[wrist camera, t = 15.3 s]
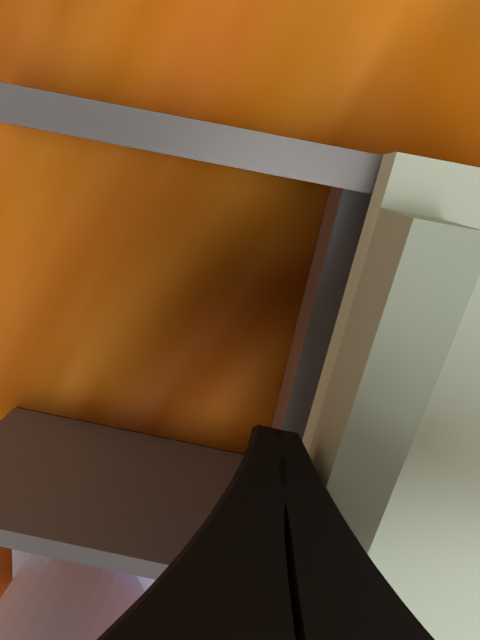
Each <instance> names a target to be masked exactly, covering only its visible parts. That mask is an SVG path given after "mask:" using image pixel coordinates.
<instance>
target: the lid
mask: <svg viewBox="0 0 480 640" xmlns="http://www.w3.org/2000/svg"><path fill="white" fill-rule="evenodd" d="M302 441H303V444H304V446H305V448H306V450H307V452H308V454H309V456H310V458H311V460H312V462H313V464H314V466H315V468H316V470H317V472H318V473H319V475H320V477H321V479H322V481H323V483H324V485H325V486H326V488H327V490H328V492H329V493H330V495H331V497H332V499H333V500H334V502H335V504H336V506H337V507H338V509H339V511H340V512H341V514H342V516H343V517H344V519H345V520H346V522H347V524H348V525H349V527H350V528H351V530H352V532H353V533H354V535H355V536H356V538H357V539H358V541H359V542H360V544H361V545H362V547H363V548H364V550H365V551H366V553H367V554H368V556H369V557H370V558H371V560H372V561H373V563H374V564H375V566H376V567H377V568H378V570H379V571H380V572H381V574H382V575H383V576H384V578H385V579H386V580H387V582H388V583H389V584H390V585H391V587H392V588H393V589H394V591H395V592H396V593H397V595H398V596H399V597H400V599H401V600H402V601H403V602H404V604H405V605H406V606H407V607H408V608H409V610H410V611H411V612H412V613H413V615H414V616H415V617H416V618H417V619H418V621H419V622H420V623H421V624H422V625H423V627H424V628H425V629H426V630H427V631H428V632H429V633H430V635H431V636H432V637H433V638H434V639H435V640H480V167H474V166H469V165H464V164H459V163H454V162H448V161H443V160H438V159H433V158H428V157H422V156H417V155H412V154H407V153H401V152H393V153H387V154H383V158H382V161H381V165H380V168H379V172H378V175H377V179H376V182H375V186H374V190H373V193H372V197H371V200H370V204H369V207H368V211H367V214H366V218H365V221H364V225H363V228H362V232H361V235H360V239H359V242H358V246H357V249H356V253H355V256H354V260H353V263H352V267H351V271H350V274H349V278H348V281H347V285H346V288H345V292H344V295H343V299H342V302H341V306H340V309H339V313H338V316H337V320H336V323H335V327H334V330H333V334H332V337H331V341H330V344H329V348H328V352H327V355H326V359H325V362H324V366H323V369H322V373H321V376H320V380H319V383H318V387H317V390H316V394H315V397H314V401H313V404H312V408H311V411H310V415H309V418H308V422H307V425H306V429H305V433H304V436H303V440H302Z"/></svg>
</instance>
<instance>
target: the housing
mask: <svg viewBox="0 0 480 640" xmlns="http://www.w3.org/2000/svg"><path fill="white" fill-rule="evenodd" d="M0 122H3V123H8V124H13V125H18V126H23V127H28V128H34V129H39V130H44V131H49V132H54V133H59V134H64V135H70V136H75V137H80V138H85V139H90V140H95V141H101V142H106V143H111V144H116V145H121V146H126V147H132V148H137V149H142V150H147V151H152V152H157V153H163V154H168V155H173V156H178V157H183V158H188V159H193V160H199V161H204V162H209V163H214V164H219V165H224V166H230V167H235V168H240V169H245V170H250V171H255V172H261V173H266V174H271V175H276V176H281V177H286V178H292V179H297V180H302V181H307V182H312V183H317V184H322V185H328V186H330V191H329V195H328V199H327V203H326V207H325V211H324V215H323V219H322V223H321V227H320V231H319V235H318V239H317V243H316V247H315V251H314V255H313V259H312V263H311V267H310V271H309V275H308V279H307V283H306V287H305V292H304V296H303V300H302V304H301V308H300V312H299V316H298V320H297V324H296V328H295V332H294V336H293V340H292V344H291V348H290V352H289V356H288V360H287V364H286V368H285V372H284V376H283V380H282V384H281V389H280V393H279V397H278V401H277V405H276V409H275V413H274V417H273V421H272V425H271V428H276V429H280V430H285V431H290V432H295V433H298V434H299V436H300V438H301V439H302V440H303V436H304V433H305V429H306V425H307V422H308V418H309V415H310V411H311V408H312V404H313V401H314V397H315V394H316V390H317V387H318V383H319V380H320V376H321V373H322V369H323V366H324V362H325V359H326V355H327V352H328V348H329V344H330V341H331V337H332V334H333V330H334V327H335V323H336V320H337V316H338V313H339V309H340V306H341V302H342V299H343V295H344V292H345V288H346V285H347V281H348V278H349V274H350V271H351V267H352V263H353V260H354V256H355V253H356V249H357V246H358V242H359V239H360V235H361V232H362V228H363V225H364V221H365V218H366V214H367V211H368V207H369V204H370V200H371V197H372V193H373V190H374V186H375V182H376V179H377V175H378V172H379V168H380V165H381V161H382V158H383V155H378V154H373V153H368V152H363V151H357V150H352V149H347V148H342V147H336V146H331V145H326V144H321V143H316V142H310V141H305V140H300V139H295V138H290V137H284V136H279V135H274V134H269V133H264V132H258V131H253V130H248V129H243V128H237V127H232V126H227V125H222V124H217V123H211V122H206V121H201V120H196V119H191V118H185V117H180V116H175V115H170V114H165V113H159V112H154V111H149V110H144V109H138V108H133V107H128V106H123V105H118V104H112V103H107V102H102V101H97V100H92V99H86V98H81V97H76V96H71V95H66V94H60V93H55V92H50V91H45V90H39V89H34V88H29V87H24V86H19V85H13V84H8V83H3V82H0ZM243 457H244V455H243V454H238V453H233V452H228V451H223V450H219V449H214V448H209V447H204V446H199V445H194V444H190V443H185V442H180V441H175V440H170V439H165V438H161V437H156V436H151V435H146V434H141V433H136V432H132V431H127V430H122V429H117V428H112V427H108V426H103V425H98V424H93V423H88V422H83V421H79V420H74V419H69V418H64V417H59V416H54V415H50V414H45V413H40V412H35V411H30V410H25V409H21V408H14V409H13V410H12V411H11V412H10V413H9V414H8V415H7V416H5V417H4V418H3V419H2V420H1V421H0V547H4V548H9V549H13V550H18V551H23V552H28V553H32V554H37V555H42V556H46V557H51V558H56V559H60V560H65V561H70V562H74V563H79V564H84V565H88V566H93V567H98V568H102V569H107V570H112V571H116V572H121V573H126V574H130V575H135V576H140V577H144V578H149V579H154V580H156V579H157V578H158V577H159V576H160V575H161V574H162V572H163V571H164V570H165V569H166V568H167V567H168V566H169V564H170V563H171V562H172V561H173V560H174V559H175V558H176V556H177V555H178V554H179V553H180V552H181V551H182V549H183V548H184V547H185V546H186V544H187V543H188V542H189V541H190V539H191V538H192V537H193V536H194V534H195V533H196V532H197V530H198V529H199V528H200V526H201V525H202V524H203V522H204V521H205V520H206V518H207V517H208V516H209V514H210V513H211V511H212V510H213V508H214V507H215V505H216V504H217V502H218V501H219V499H220V497H221V496H222V494H223V493H224V491H225V490H226V488H227V487H228V485H229V483H230V482H231V480H232V478H233V476H234V474H235V473H236V471H237V469H238V467H239V465H240V463H241V461H242V459H243Z"/></svg>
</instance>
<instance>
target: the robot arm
mask: <svg viewBox="0 0 480 640" xmlns="http://www.w3.org/2000/svg"><path fill="white" fill-rule="evenodd" d="M12 576H13V580H12V581H11V583H10V584H9V586H8V587H7V589H6V590H5V592H4V593H3V595H2V596H1V598H0V640H435V639H434V638H433V637H432V636H431V635H430V633H429V632H428V631H427V630H426V629H425V628H424V627H423V625H422V624H421V623H420V622H419V621H418V619H417V618H416V617H415V616H414V615H413V613H412V612H411V611H410V610H409V608H408V607H407V606H406V605H405V604H404V602H403V601H402V600H401V599H400V597H399V596H398V595H397V593H396V592H395V591H394V589H393V588H392V587H391V585H390V584H389V583H388V582H387V580H386V579H385V578H384V576H383V575H382V574H381V572H380V571H379V570H378V568H377V567H376V566H375V564H374V563H373V561H372V560H371V558H370V557H369V556H368V554H367V553H366V551H365V550H364V548H363V547H362V545H361V544H360V542H359V541H358V539H357V538H356V536H355V535H354V533H353V532H352V530H351V528H350V527H349V525H348V524H347V522H346V520H345V519H344V517H343V516H342V514H341V512H340V511H339V509H338V507H337V506H336V504H335V502H334V500H333V499H332V497H331V495H330V493H329V492H328V490H327V488H326V486H325V485H324V483H323V481H322V479H321V477H320V475H319V473H318V472H317V470H316V468H315V466H314V464H313V462H312V460H311V458H310V456H309V454H308V452H307V450H306V448H305V446H304V444H303V441H302V439H301V438H300V436H299V434H298V433H295V432H290V431H285V430H280V429H276V428H271V427H266V426H261V425H257V426H255V427H253V428H252V432H251V436H250V440H249V445H248V448H247V450H246V453H245V455H244V457H243V459H242V461H241V463H240V465H239V467H238V469H237V471H236V473H235V474H234V476H233V478H232V480H231V482H230V483H229V485H228V487H227V488H226V490H225V491H224V493H223V494H222V496H221V497H220V499H219V501H218V502H217V504H216V505H215V507H214V508H213V510H212V511H211V513H210V514H209V516H208V517H207V518H206V520H205V521H204V522H203V524H202V525H201V526H200V528H199V529H198V530H197V532H196V533H195V534H194V536H193V537H192V538H191V539H190V541H189V542H188V543H187V544H186V546H185V547H184V548H183V549H182V551H181V552H180V553H179V554H178V555H177V556H176V558H175V559H174V560H173V561H172V562H171V563H170V564H169V566H168V567H167V568H166V569H165V570H164V571H163V572H162V574H161V575H160V576H159V577H158V578H157V579H156V580H154V579H149V578H144V577H140V576H135V575H130V574H126V573H121V572H116V571H112V570H107V569H102V568H98V567H93V566H88V565H84V564H79V563H74V562H70V561H65V560H60V559H56V558H51V557H46V556H42V555H37V554H32V553H28V552H23V551H18V550H13V549H12Z"/></svg>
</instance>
